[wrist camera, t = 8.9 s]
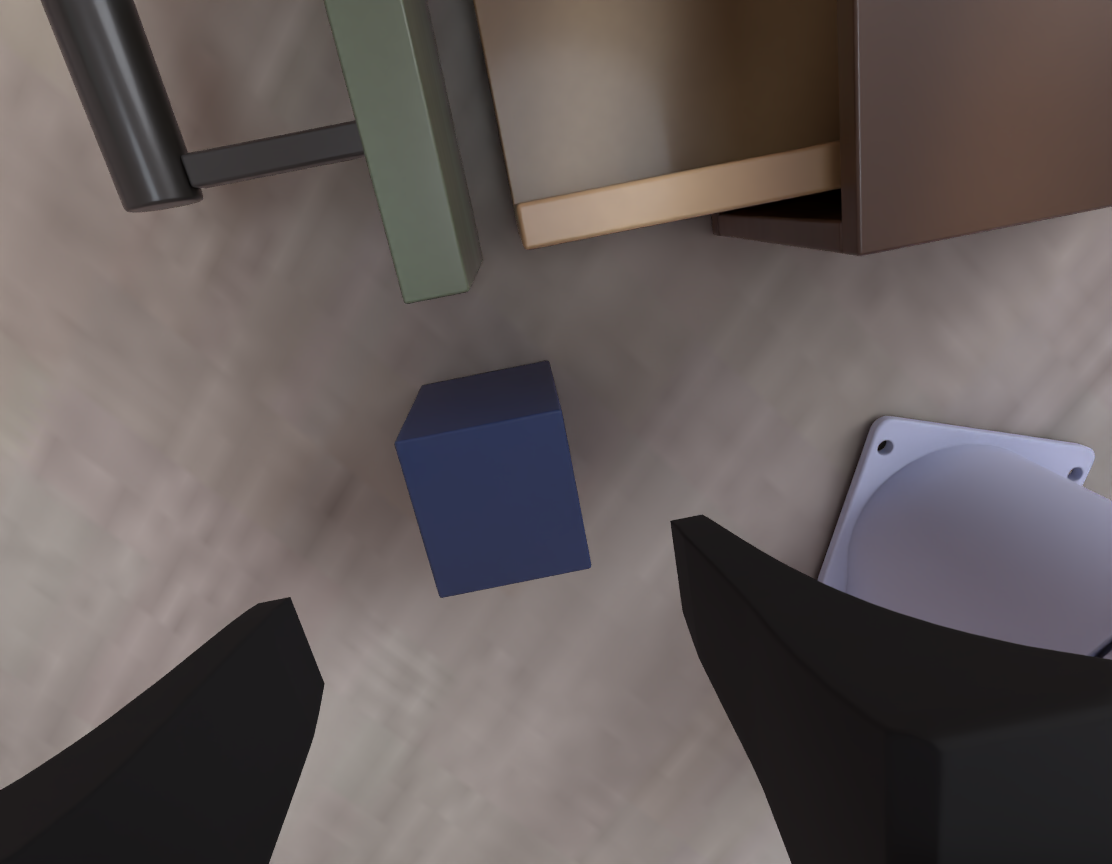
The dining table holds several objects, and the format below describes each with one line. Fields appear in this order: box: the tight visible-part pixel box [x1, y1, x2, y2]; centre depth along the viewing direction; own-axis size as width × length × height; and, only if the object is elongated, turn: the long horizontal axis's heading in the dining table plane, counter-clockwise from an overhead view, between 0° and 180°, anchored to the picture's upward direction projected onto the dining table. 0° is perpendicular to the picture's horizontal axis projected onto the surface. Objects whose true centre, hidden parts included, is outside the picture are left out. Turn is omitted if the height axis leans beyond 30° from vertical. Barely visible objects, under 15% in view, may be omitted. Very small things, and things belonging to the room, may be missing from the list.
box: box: [394, 361, 591, 598], centre depth 18 cm, size 4×4×5 cm
